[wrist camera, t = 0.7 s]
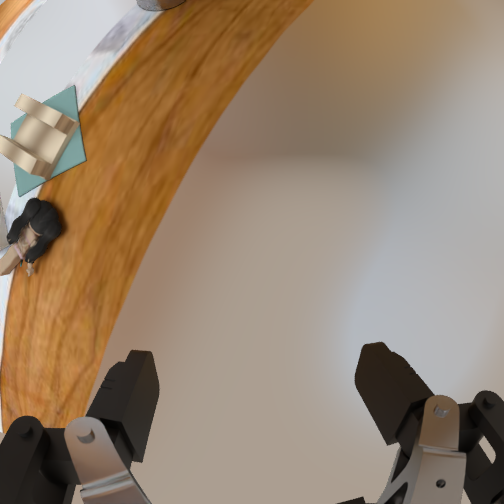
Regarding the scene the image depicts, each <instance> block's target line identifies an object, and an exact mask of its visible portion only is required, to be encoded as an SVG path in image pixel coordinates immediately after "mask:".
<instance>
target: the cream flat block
mask: <svg viewBox="0 0 504 504" xmlns="http://www.w3.org/2000/svg"><path fill="white" fill-rule="evenodd" d="M7 234H8V232H7V228H6V223H5V218H4V214H3V208H2V203H1V197H0V250H2V249H4V248H5V247H7V246H9V243H8V241H9V240H8V241H7V238H6V237H7Z"/></svg>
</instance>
